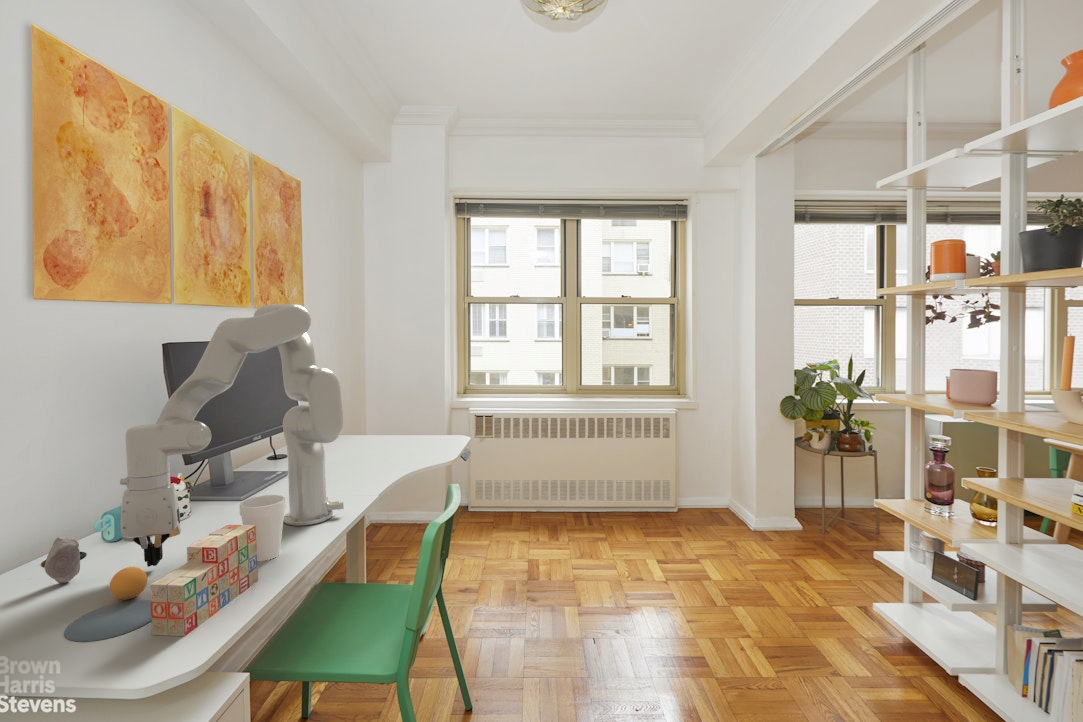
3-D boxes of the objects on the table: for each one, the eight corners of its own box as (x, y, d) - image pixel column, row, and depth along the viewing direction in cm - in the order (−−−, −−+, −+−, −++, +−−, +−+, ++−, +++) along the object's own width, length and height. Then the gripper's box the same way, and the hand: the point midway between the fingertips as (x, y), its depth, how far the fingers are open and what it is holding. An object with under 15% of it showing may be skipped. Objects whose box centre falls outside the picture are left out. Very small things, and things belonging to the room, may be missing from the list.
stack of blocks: (185, 637, 96) (181, 568, 95) (151, 636, 96) (147, 567, 96) (258, 581, 117) (256, 523, 116) (230, 580, 118) (228, 523, 117)
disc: (171, 595, 111) (171, 594, 110) (147, 632, 97) (147, 631, 97) (85, 608, 106) (85, 607, 106) (48, 648, 93) (48, 647, 93)
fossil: (48, 591, 113) (45, 543, 112) (41, 587, 115) (38, 540, 114) (83, 580, 118) (80, 534, 117) (76, 576, 119) (73, 531, 119)
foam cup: (296, 550, 132) (294, 497, 132) (265, 566, 124) (262, 509, 123) (264, 545, 136) (262, 493, 135) (232, 561, 127) (230, 505, 126)
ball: (143, 604, 109) (153, 582, 114) (139, 580, 107) (149, 558, 112) (106, 608, 107) (118, 585, 112) (102, 583, 105) (114, 562, 110)
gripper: (101, 490, 115) (106, 576, 116) (184, 482, 120) (188, 565, 121) (115, 480, 122) (119, 562, 123) (193, 474, 127) (197, 552, 128)
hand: (153, 563), depth 122 cm, fingers closed
